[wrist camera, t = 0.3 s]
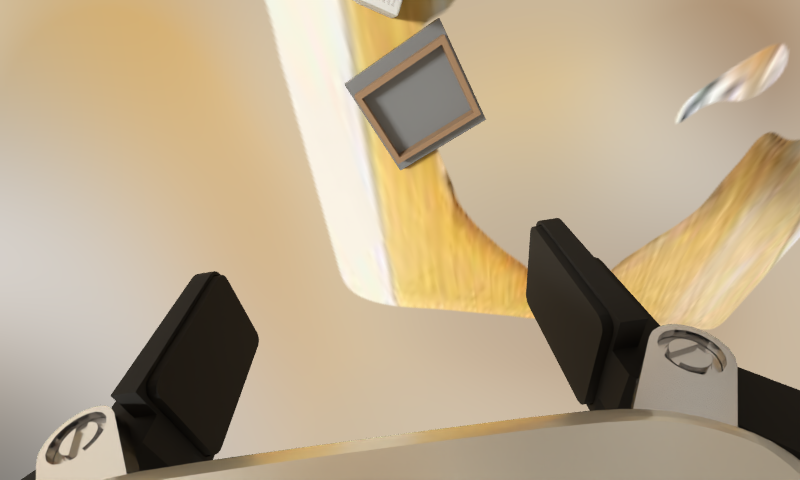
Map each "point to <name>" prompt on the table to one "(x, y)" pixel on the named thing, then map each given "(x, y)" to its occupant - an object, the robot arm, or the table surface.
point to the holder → (417, 96)
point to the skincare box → (383, 6)
